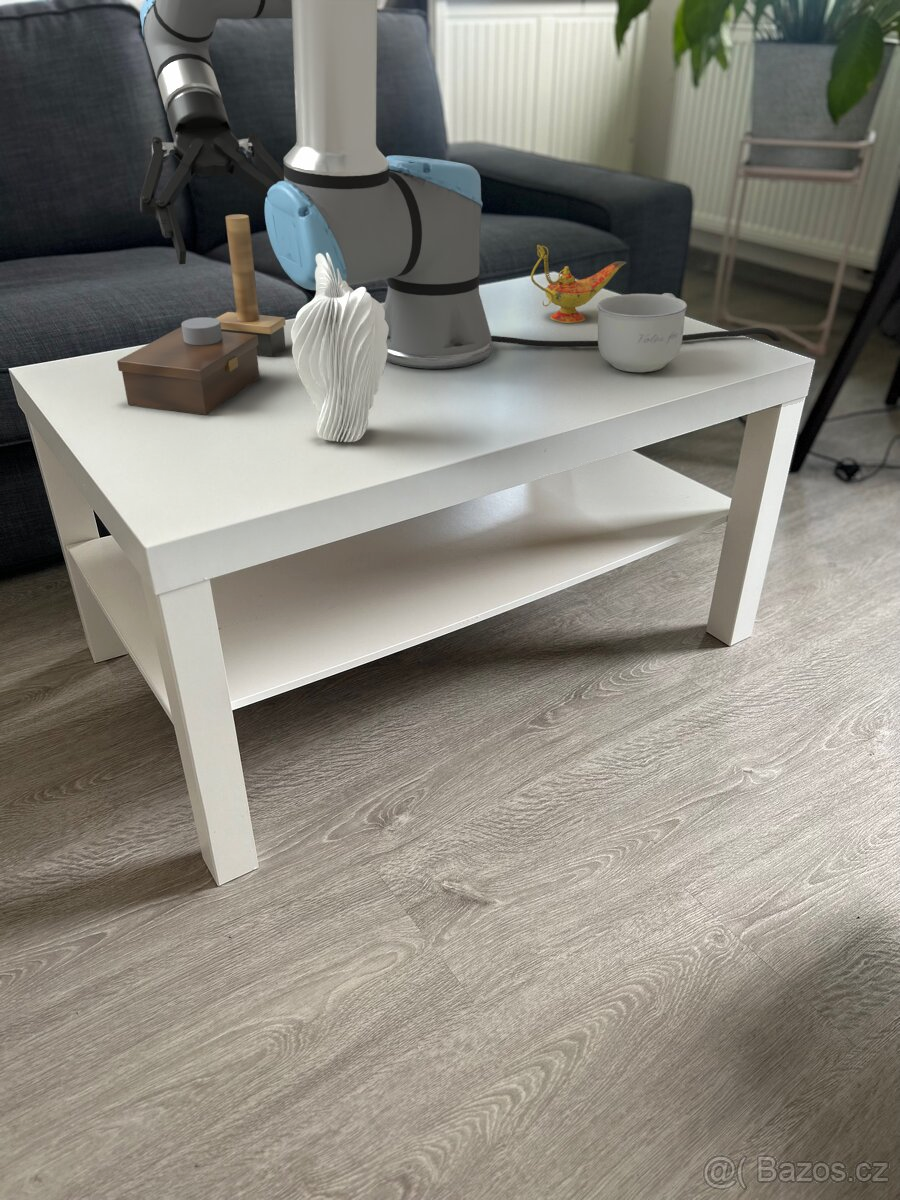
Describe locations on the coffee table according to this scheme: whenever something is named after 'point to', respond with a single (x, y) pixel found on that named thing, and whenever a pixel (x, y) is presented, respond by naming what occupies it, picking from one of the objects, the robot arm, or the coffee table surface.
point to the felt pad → (201, 331)
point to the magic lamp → (572, 289)
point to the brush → (249, 293)
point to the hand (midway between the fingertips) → (236, 253)
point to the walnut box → (189, 372)
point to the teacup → (640, 330)
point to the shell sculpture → (340, 353)
